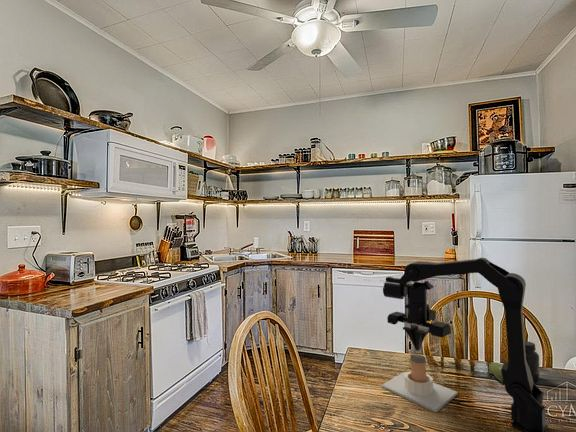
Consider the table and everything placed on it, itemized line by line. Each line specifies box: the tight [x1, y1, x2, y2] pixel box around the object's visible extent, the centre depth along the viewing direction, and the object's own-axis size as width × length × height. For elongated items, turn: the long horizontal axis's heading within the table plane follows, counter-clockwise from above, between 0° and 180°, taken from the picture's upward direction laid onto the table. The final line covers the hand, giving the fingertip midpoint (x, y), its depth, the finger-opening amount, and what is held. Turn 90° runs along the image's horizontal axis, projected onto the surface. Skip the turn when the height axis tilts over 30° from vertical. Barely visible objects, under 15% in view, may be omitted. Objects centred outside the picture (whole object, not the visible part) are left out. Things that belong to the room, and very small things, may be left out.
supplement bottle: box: [525, 340, 541, 384], centre depth 110 cm, size 7×7×12 cm
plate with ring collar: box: [381, 370, 458, 413], centre depth 103 cm, size 18×14×4 cm
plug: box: [410, 353, 427, 383], centre depth 103 cm, size 4×4×10 cm
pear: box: [488, 362, 503, 383], centre depth 110 cm, size 6×5×10 cm
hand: (417, 350), depth 103 cm, fingers closed
